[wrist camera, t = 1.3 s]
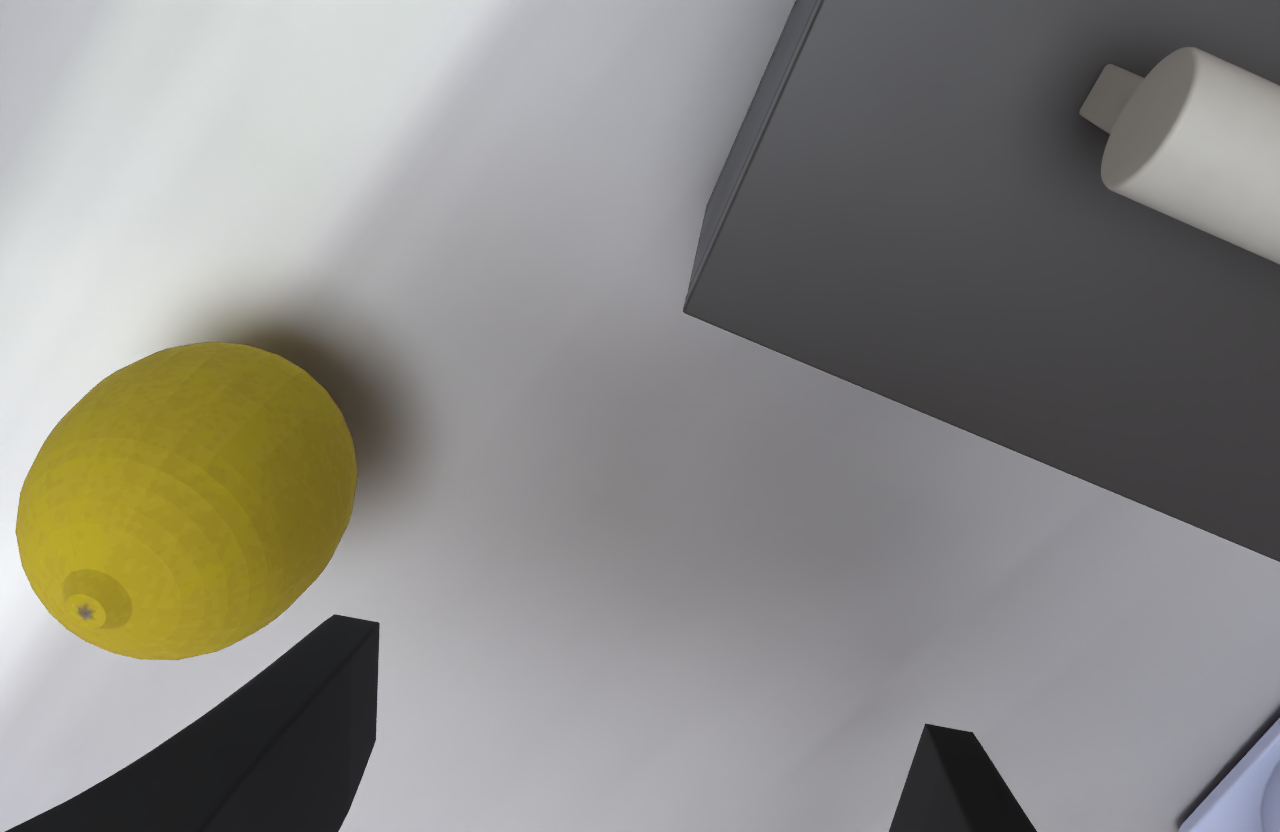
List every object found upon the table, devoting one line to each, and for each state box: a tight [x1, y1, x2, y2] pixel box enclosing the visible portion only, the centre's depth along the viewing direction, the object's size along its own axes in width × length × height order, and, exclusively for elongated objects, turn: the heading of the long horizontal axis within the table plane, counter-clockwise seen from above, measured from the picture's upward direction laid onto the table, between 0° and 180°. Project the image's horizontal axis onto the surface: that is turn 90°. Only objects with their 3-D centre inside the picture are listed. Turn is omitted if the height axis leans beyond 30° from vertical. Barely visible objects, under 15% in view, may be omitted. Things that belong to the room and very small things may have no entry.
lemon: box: [16, 342, 357, 660], centre depth 20 cm, size 6×6×8 cm
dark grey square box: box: [688, 0, 817, 291], centre depth 16 cm, size 12×12×5 cm
